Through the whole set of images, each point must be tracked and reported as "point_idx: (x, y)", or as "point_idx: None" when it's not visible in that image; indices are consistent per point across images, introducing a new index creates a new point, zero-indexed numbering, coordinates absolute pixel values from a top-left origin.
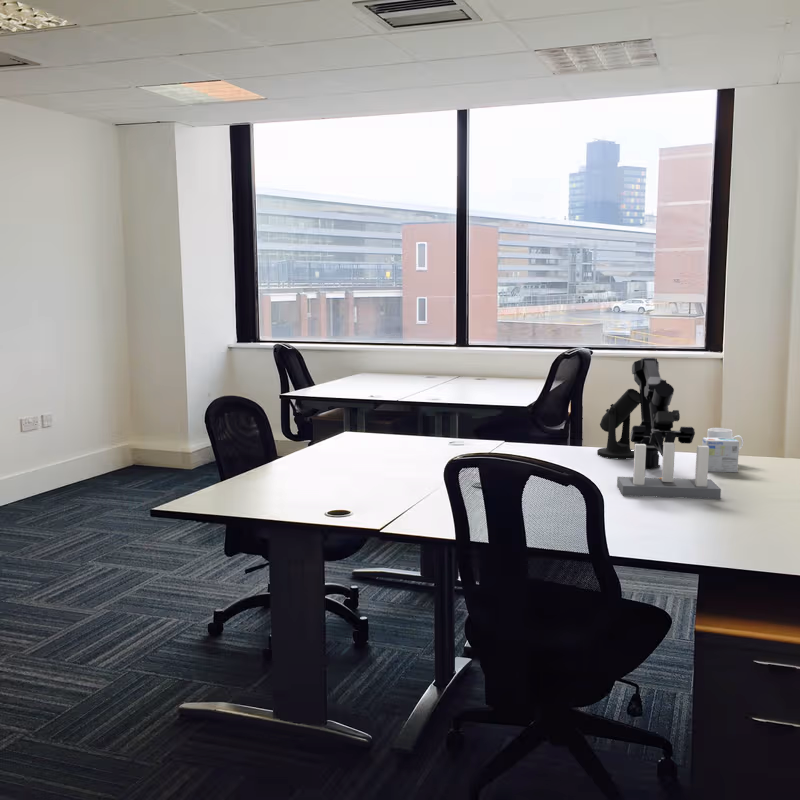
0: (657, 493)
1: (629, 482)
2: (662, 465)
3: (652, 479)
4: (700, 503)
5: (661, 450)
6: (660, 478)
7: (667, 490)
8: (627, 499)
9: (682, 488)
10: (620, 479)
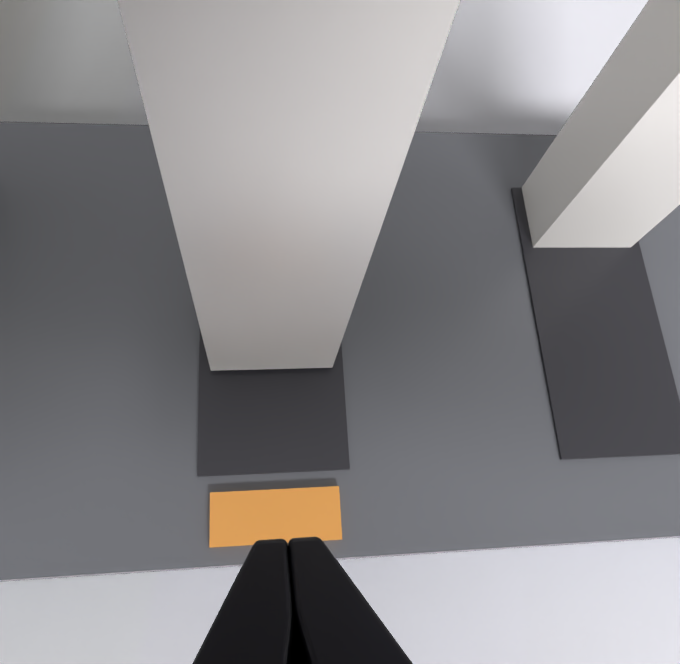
0: None
1: (663, 268)
2: (357, 283)
3: (428, 445)
4: (61, 45)
5: (392, 640)
6: (330, 488)
7: None
8: None
9: None
10: None
